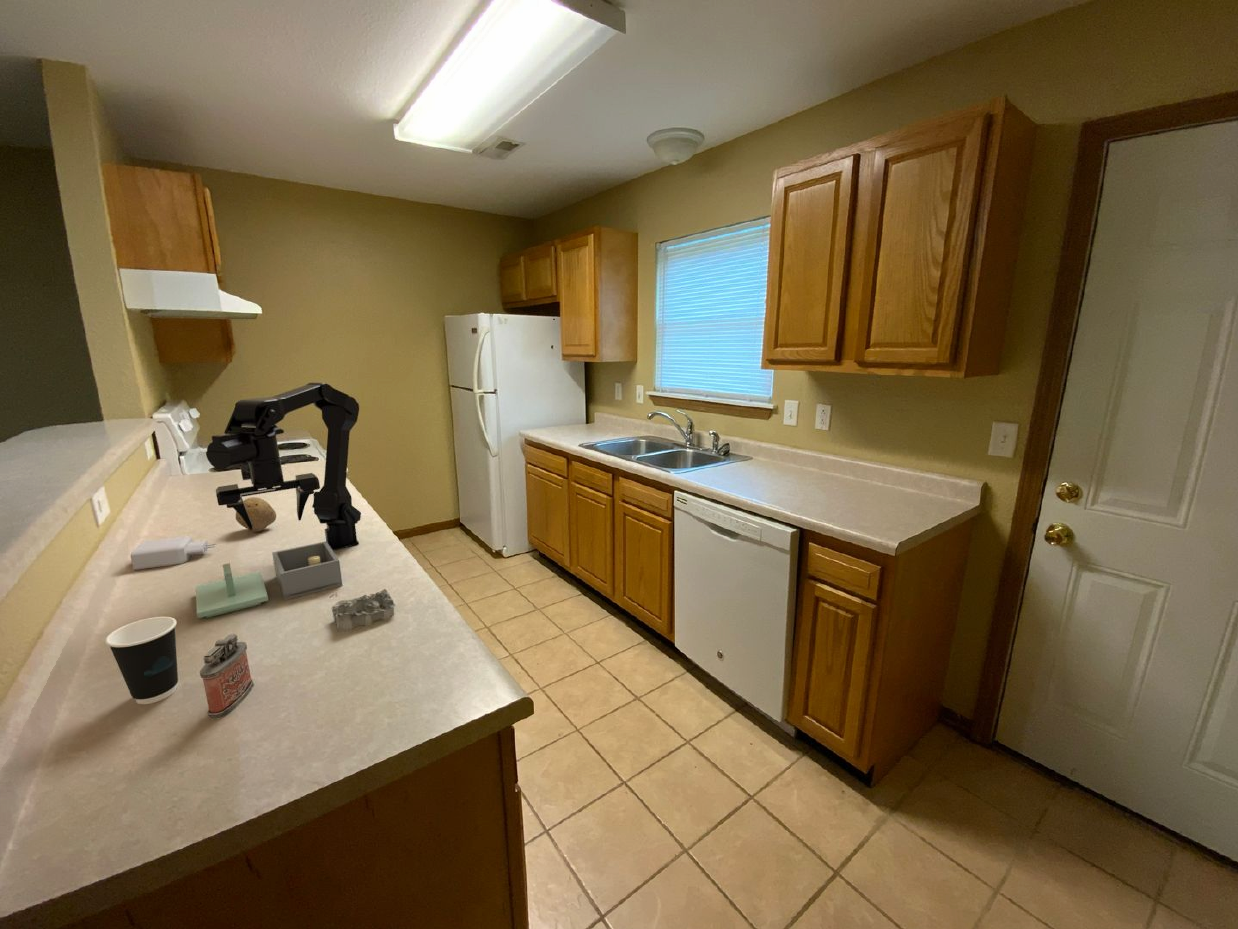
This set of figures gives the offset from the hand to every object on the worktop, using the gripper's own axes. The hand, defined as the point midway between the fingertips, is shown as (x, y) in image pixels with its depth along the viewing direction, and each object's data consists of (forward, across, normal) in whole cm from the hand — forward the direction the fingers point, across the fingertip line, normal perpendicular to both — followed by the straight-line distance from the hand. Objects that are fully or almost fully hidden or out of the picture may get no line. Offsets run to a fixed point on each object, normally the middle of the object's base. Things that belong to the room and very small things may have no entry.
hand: (276, 524), depth 117 cm
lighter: (+12, +12, +45) cm, 48 cm away
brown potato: (+13, +2, -37) cm, 40 cm away
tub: (+12, -4, +7) cm, 15 cm away
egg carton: (+13, -10, +31) cm, 35 cm away
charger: (+13, +19, -27) cm, 35 cm away
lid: (+12, +10, +7) cm, 17 cm away
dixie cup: (+12, +21, +36) cm, 43 cm away
